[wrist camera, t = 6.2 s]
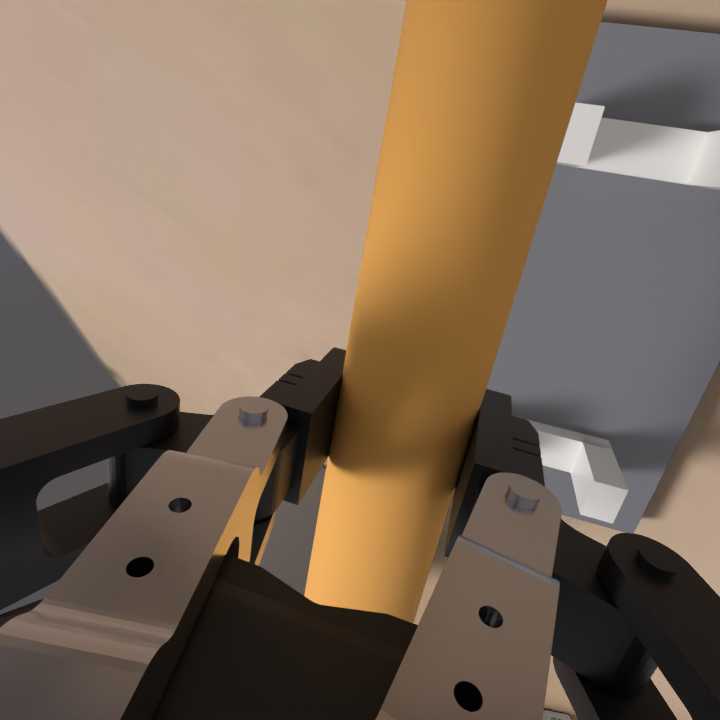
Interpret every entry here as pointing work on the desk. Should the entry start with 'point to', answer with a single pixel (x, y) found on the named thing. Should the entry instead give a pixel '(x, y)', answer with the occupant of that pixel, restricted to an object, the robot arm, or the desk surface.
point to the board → (622, 275)
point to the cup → (294, 537)
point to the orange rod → (440, 277)
